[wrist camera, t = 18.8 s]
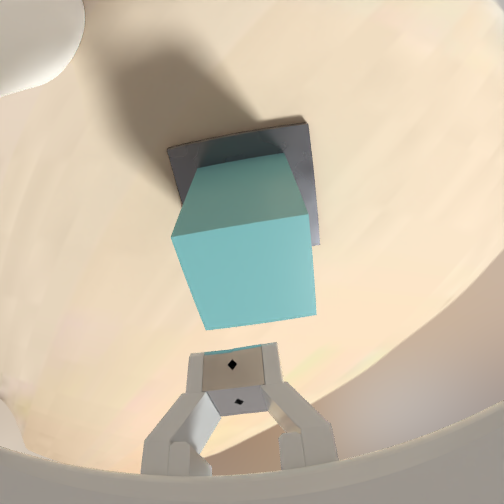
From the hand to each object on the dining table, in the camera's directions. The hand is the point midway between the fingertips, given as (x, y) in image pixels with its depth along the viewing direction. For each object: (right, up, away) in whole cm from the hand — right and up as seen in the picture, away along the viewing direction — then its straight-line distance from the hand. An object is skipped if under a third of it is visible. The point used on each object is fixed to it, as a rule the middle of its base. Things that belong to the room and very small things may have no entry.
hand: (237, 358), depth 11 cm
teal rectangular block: (0, +7, +11) cm, 13 cm away
